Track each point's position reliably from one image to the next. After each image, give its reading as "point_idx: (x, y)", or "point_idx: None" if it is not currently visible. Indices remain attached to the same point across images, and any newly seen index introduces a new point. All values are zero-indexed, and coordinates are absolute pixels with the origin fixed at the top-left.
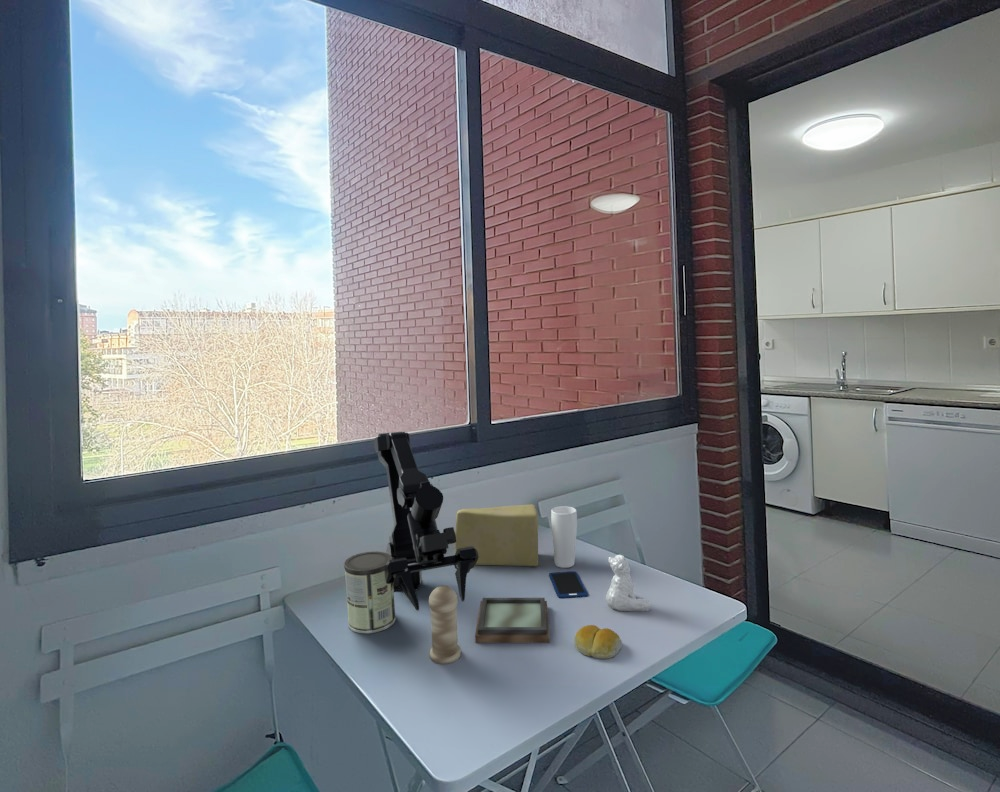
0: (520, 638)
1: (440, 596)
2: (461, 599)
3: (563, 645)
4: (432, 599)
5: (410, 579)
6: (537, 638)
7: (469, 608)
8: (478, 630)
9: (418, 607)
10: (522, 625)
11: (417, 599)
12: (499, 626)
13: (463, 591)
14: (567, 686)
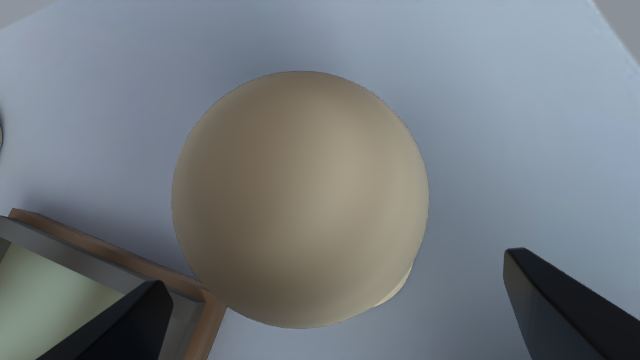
0: (91, 239)
1: (323, 80)
2: (167, 310)
3: (14, 187)
4: (400, 125)
5: None
6: (49, 221)
7: None
8: (194, 301)
9: (515, 249)
10: (42, 299)
11: (542, 291)
12: None
13: (108, 312)
14: (105, 24)
